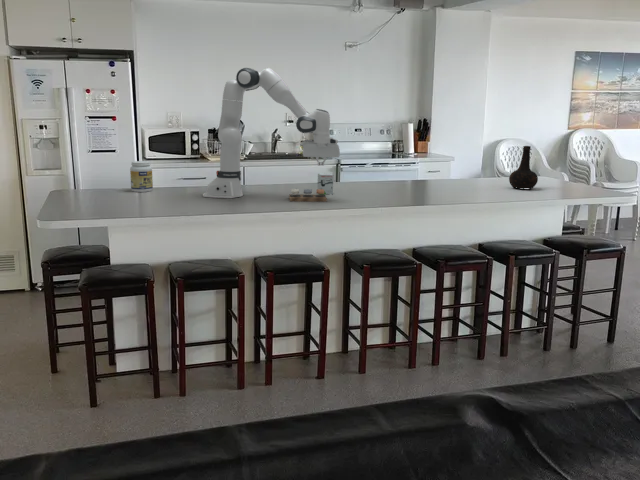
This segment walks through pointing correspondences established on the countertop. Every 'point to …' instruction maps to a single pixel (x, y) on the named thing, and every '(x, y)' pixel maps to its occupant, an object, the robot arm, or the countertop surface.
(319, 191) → the terracotta button
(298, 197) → the button panel
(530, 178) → the glass bottle
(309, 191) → the slate button
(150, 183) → the supplement tub
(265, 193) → the countertop surface
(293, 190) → the cream button
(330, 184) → the ink box
